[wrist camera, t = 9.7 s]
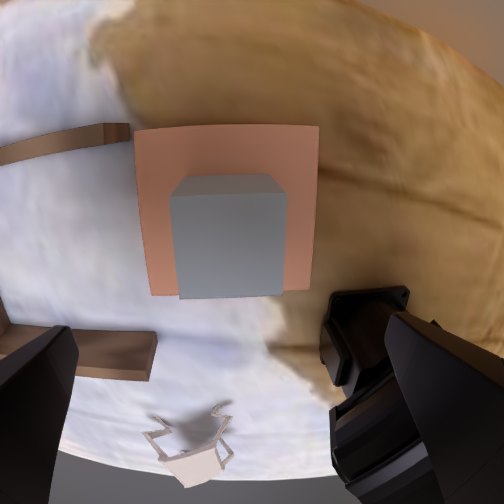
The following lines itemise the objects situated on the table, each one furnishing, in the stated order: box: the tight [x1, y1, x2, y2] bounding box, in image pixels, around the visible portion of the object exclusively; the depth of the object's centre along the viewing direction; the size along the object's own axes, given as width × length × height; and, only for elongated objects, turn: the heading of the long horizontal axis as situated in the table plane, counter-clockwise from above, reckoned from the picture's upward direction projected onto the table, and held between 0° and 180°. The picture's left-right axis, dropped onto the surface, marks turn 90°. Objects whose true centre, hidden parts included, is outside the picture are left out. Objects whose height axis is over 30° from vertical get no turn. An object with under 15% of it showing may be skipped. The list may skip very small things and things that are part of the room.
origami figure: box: [142, 405, 234, 488], centre depth 24 cm, size 12×8×5 cm
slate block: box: [169, 174, 287, 299], centre depth 15 cm, size 4×4×5 cm
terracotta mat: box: [134, 124, 319, 296], centre depth 17 cm, size 10×10×1 cm
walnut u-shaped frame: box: [0, 123, 158, 382], centre depth 15 cm, size 15×15×4 cm
